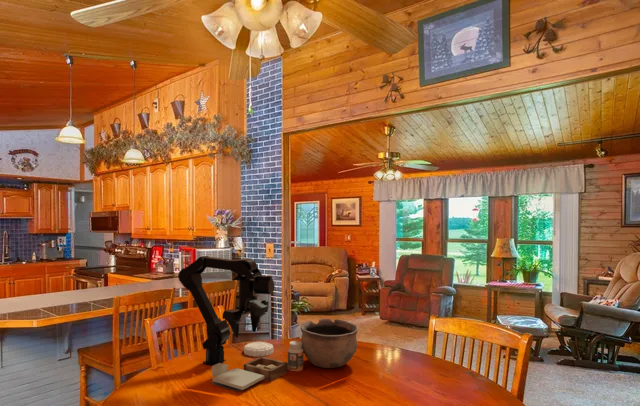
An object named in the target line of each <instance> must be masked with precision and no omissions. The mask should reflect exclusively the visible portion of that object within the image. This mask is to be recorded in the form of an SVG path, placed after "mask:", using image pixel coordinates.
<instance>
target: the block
mask: <svg viewBox="0 0 640 406" xmlns="http://www.w3.org/2000/svg"><path fill="white" fill-rule="evenodd" d="M275 367H277V366H275V365H268V366H265V369H269V370H271V369H273V368H275Z"/></svg>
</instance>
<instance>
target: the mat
mask: <svg viewBox="0 0 640 406" xmlns="http://www.w3.org/2000/svg"><path fill="white" fill-rule="evenodd" d="M210 384H211V385H215V386H218V387H221V388H224V389H227V390H232V391H235V392H239V391H241V390H240V389H238V388H234V387H231V386H228V385H224V384H221V383H217V382H214V381H212V382H210Z"/></svg>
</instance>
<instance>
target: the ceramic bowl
mask: <svg viewBox="0 0 640 406" xmlns="http://www.w3.org/2000/svg"><path fill="white" fill-rule="evenodd" d="M299 327H300V331H301V333H302V334H301V338H300V342H302V347H301V348H302V349H303V355H304V356H305V358H306V359H307V360H308V361H309V362H310V363H311V364H312V365H314V366H315V367H319V368H322V369H333V368H334V369H336V368H340V367H342V366H344V365H346V364H347V363H348V362H349V361H350V360H352V358H353V356H354V355H355V354H356V352H357V348H358V339H357V333H358V331H359V327H358V325H357V324H355V323H353V322H349V321H347V320H342V319H338V318H337V319H334V320H331V318H322V319H321V318H320V319H319V320H318V322H317V323H315V322H313V321H312V320H308V321H305V322H302V323H301V325H300V326H299Z"/></svg>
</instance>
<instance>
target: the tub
mask: <svg viewBox="0 0 640 406" xmlns="http://www.w3.org/2000/svg"><path fill="white" fill-rule="evenodd" d="M258 364H259V365H265V366H268V365H275V366H277V367H275V368H273V369H271V370H269V369H265V368H261V367H257V365H258ZM243 370H245V371H249V372H253V373H257V374H261V375H264V379H262V380H261V381H265V382H266V381H267V382H269V383H270V382H272V381H275V380H277V379H278V378H280V377H282V376H284V375H286V374H287V373H288V372H289V371H288V370H289V369H288V361H282V360H277V359H273V358H269V357H266V356H260V357H257V358H255V359H252V360H251V361H249V362H246V363H244V364H243Z"/></svg>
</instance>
